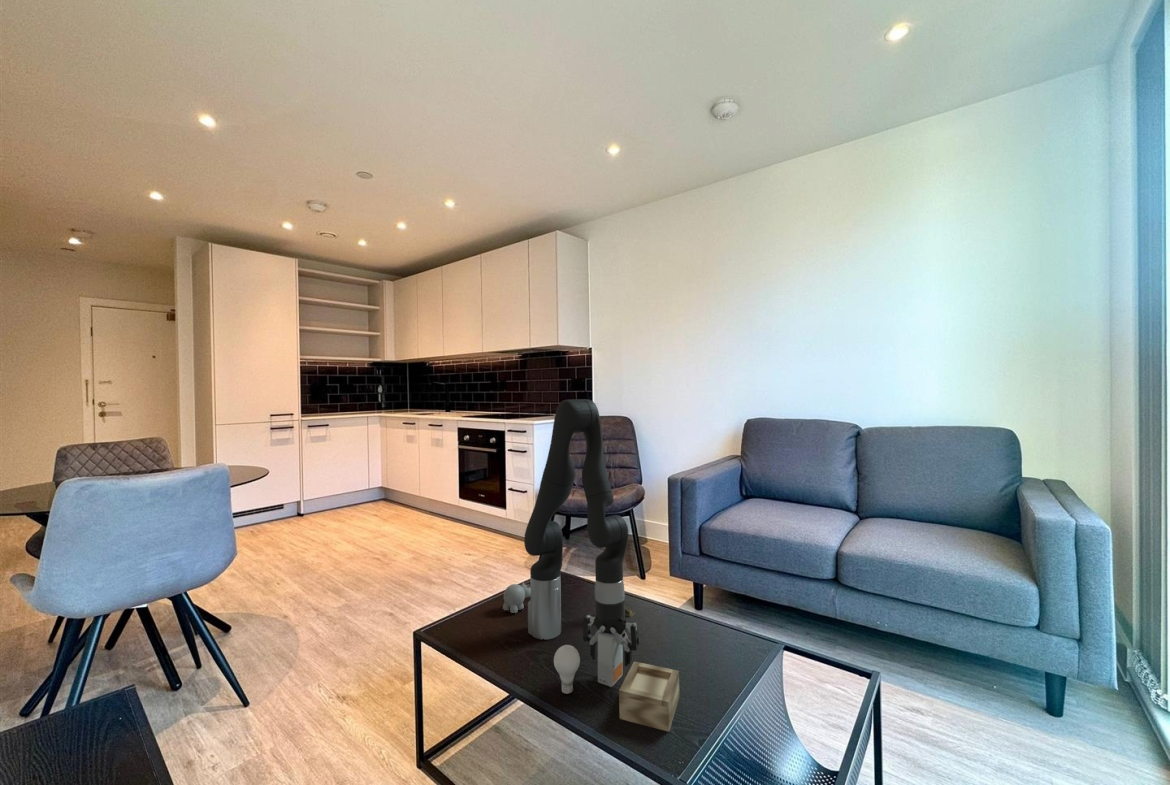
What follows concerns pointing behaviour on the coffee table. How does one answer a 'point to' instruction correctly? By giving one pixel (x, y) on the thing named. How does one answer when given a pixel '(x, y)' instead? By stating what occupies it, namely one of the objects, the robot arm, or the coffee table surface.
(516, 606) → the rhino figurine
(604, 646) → the skincare box
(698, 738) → the coffee table surface
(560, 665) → the lightbulb
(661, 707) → the wooden box
